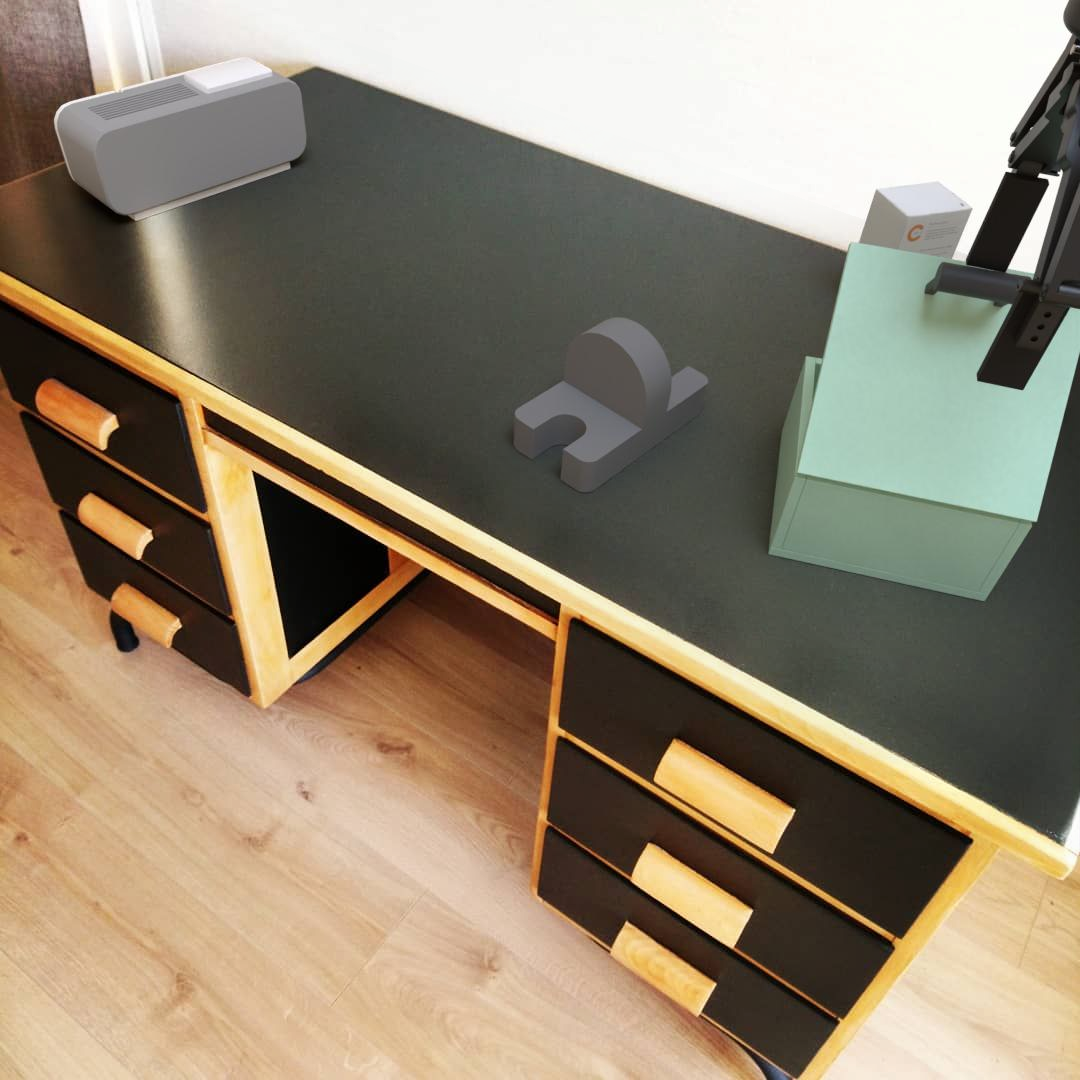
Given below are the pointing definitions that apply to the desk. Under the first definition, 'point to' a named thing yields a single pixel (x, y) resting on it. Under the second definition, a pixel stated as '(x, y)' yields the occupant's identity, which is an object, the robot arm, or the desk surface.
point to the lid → (933, 387)
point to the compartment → (882, 523)
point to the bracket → (609, 404)
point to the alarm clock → (182, 136)
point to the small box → (916, 219)
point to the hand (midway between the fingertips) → (991, 321)
